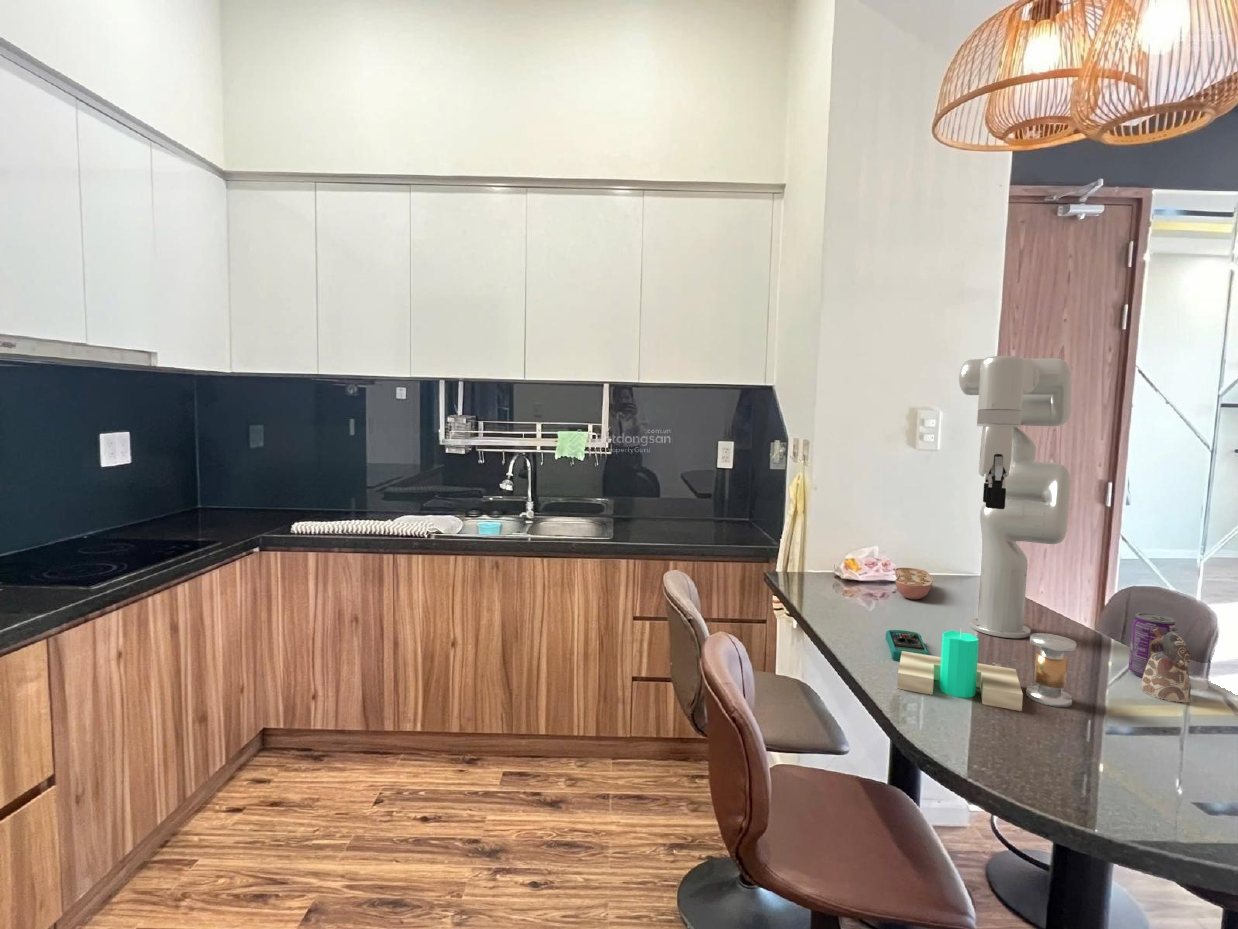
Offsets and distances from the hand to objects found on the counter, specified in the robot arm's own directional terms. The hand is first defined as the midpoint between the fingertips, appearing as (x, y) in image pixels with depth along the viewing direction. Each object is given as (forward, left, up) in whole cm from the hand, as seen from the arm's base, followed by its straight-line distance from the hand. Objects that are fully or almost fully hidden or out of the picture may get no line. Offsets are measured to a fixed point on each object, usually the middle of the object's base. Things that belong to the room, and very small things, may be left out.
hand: (993, 505), depth 133 cm
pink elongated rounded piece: (-58, -15, -34) cm, 68 cm away
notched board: (+13, -5, -33) cm, 36 cm away
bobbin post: (+11, +10, -33) cm, 36 cm away
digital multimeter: (-3, -14, -34) cm, 37 cm away
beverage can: (-12, +30, -34) cm, 47 cm away
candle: (+15, -5, -34) cm, 37 cm away
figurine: (-2, +30, -34) cm, 45 cm away
